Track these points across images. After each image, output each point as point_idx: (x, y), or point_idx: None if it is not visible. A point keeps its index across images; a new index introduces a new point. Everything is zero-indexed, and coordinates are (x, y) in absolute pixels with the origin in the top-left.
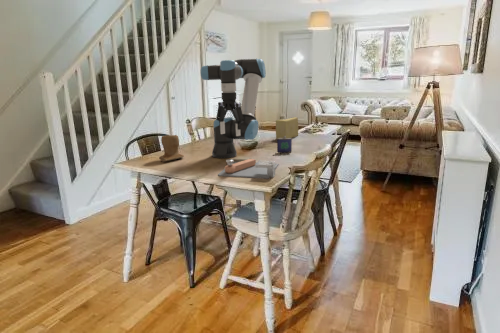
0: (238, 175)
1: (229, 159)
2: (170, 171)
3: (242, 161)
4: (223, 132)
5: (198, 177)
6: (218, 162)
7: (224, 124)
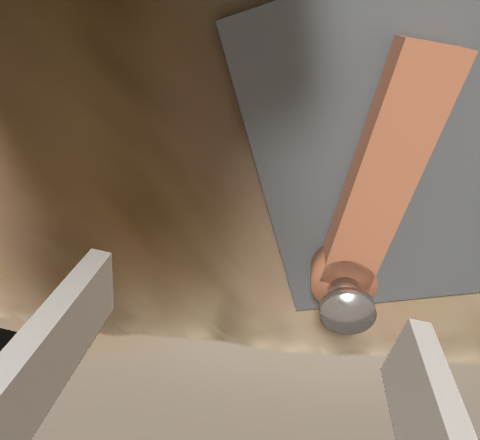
0: (414, 296)
1: (336, 302)
2: None
3: (374, 155)
4: (104, 293)
5: (229, 341)
6: (109, 66)
7: (18, 379)
